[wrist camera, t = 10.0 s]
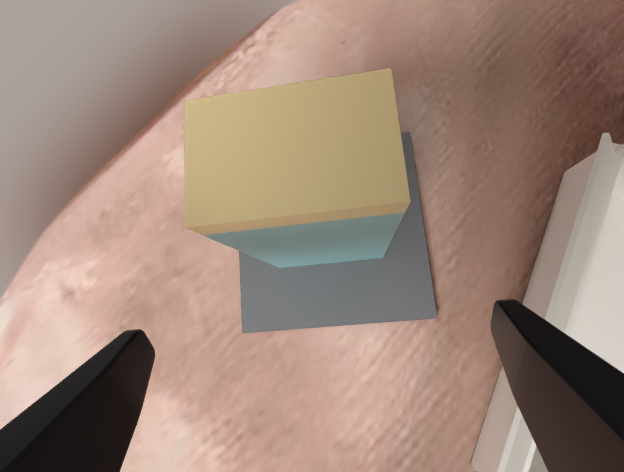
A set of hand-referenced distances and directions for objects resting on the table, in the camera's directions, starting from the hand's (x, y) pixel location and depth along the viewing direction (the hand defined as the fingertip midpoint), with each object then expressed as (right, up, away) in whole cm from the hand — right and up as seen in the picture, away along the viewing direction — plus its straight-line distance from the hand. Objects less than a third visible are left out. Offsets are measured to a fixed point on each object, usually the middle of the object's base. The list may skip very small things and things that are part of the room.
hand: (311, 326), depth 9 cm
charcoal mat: (+1, +3, +10) cm, 11 cm away
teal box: (+1, +3, +10) cm, 10 cm away
